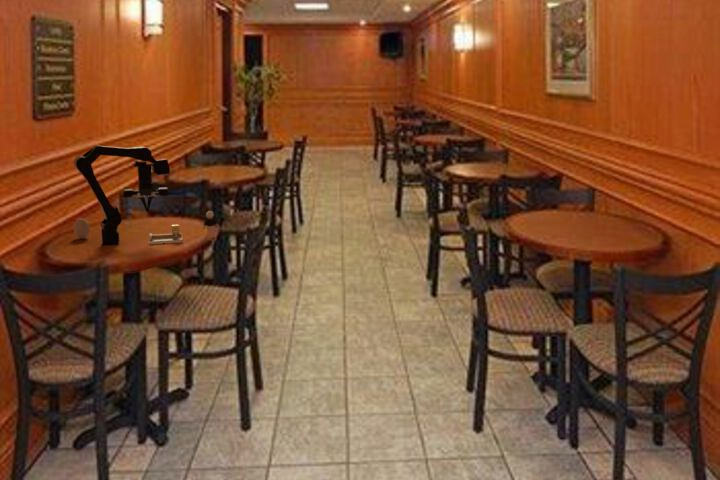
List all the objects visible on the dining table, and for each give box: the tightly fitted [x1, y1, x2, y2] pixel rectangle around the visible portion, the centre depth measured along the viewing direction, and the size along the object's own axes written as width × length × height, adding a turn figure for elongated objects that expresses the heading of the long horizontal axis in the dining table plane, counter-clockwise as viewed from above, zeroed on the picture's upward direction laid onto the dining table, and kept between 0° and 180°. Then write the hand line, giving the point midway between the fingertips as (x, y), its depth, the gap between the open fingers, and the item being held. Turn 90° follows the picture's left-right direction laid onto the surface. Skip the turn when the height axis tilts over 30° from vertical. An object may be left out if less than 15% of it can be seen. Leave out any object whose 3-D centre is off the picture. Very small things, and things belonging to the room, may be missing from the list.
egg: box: [73, 217, 90, 240], centre depth 336 cm, size 7×7×9 cm
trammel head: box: [171, 224, 180, 238], centre depth 330 cm, size 3×6×5 cm, turn 14°
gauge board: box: [148, 232, 184, 245], centre depth 330 cm, size 14×10×3 cm
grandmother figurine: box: [202, 210, 220, 241], centre depth 331 cm, size 8×4×13 cm, turn 141°
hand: (147, 212), depth 332 cm, fingers closed
